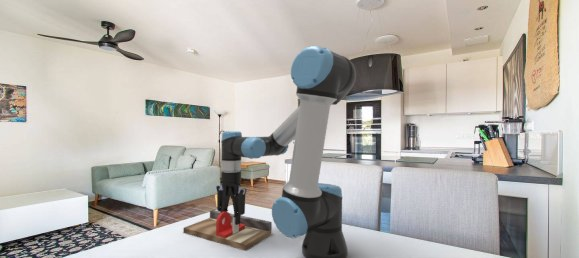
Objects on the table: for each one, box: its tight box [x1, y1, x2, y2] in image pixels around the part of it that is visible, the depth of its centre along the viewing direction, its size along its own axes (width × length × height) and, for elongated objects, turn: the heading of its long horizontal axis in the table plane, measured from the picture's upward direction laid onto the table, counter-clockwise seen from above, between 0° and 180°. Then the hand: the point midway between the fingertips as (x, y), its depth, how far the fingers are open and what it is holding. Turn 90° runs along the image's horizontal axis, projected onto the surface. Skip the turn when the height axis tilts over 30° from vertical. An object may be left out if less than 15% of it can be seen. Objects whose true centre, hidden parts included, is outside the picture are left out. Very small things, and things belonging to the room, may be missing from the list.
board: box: [183, 209, 273, 251], centre depth 104 cm, size 32×16×5 cm, turn 61°
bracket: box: [216, 211, 245, 238], centre depth 101 cm, size 12×4×8 cm, turn 151°
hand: (230, 231), depth 100 cm, fingers closed on bracket, 4 cm apart
